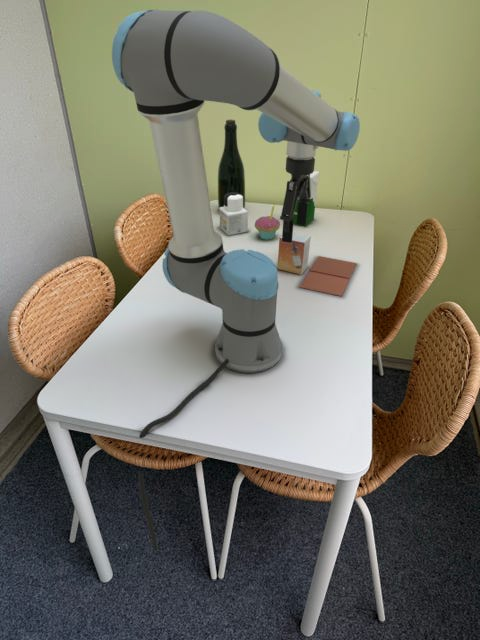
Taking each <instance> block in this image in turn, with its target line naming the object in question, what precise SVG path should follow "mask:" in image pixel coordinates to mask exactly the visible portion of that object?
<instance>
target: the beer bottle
mask: <svg viewBox="0 0 480 640" xmlns="http://www.w3.org/2000/svg"><path fill="white" fill-rule="evenodd" d="M237 131H238V126H237V123H236V120H235V119H226V120H225V123H224V145H223V151H222V154H221V157H220V161H219V163H218V169H217V208H218V211H219V208H220V207H224V195H225V194H227V193H230V192H237V193H240V194H242V196H243V208H244V209H246V174H245V166H244V165H245V164H244V162H243V159H242V156H241V154H240V151H239V147H238V146H239V145H238V132H237Z"/></svg>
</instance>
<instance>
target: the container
mask: <svg viewBox="0 0 480 640" xmlns="http://www.w3.org/2000/svg"><path fill="white" fill-rule="evenodd" d="M218 212H219V228H220V229H221V230H222V231H223V232H224V233H225V234H226V235H227V236H233V235H238V234H243V233H247V232H248V231H249V211H248V210H247V209H246V208H245V209H244V208H243V196H242V194H240V193H237V192H230V193H227V194H225V195H224V207H220V208H219V210H218Z"/></svg>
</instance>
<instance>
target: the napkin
mask: <svg viewBox="0 0 480 640" xmlns="http://www.w3.org/2000/svg"><path fill="white" fill-rule="evenodd" d="M356 266H357V262H353V261H347V260H342V259H336V258H330V257H326V256H321V255H318V256H317V258H316V260H315V261H314V262H313V264H312V266H311V267H310V269H309V271H308V273H307V275H306V276H305V278H304V279H303V281H302V283H301V284H300V285H299V288H300V289H304V290H310V291H313V292H318V293H323V294H328V295H332V296H336V297H337V296H338V297H343V295H344V293H345V291H346V288H347V286H348V284H349V281H350V280H351V277H352V275H353V274H354V270H355V268H356Z"/></svg>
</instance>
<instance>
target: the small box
mask: <svg viewBox="0 0 480 640" xmlns="http://www.w3.org/2000/svg"><path fill="white" fill-rule="evenodd" d="M311 237H312V236H311V235H309V234H302V233H296V232H293V236H292V243H289V242H283V241H282V235H280V237H279V239H278V251H277V264H276V268H277V270H281V271H285V272H288V273H293V274H297V275H300V276H301V275H303V273H304V272H305V270H306V269H307V268H308V264H309V255H310V246H311Z"/></svg>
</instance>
